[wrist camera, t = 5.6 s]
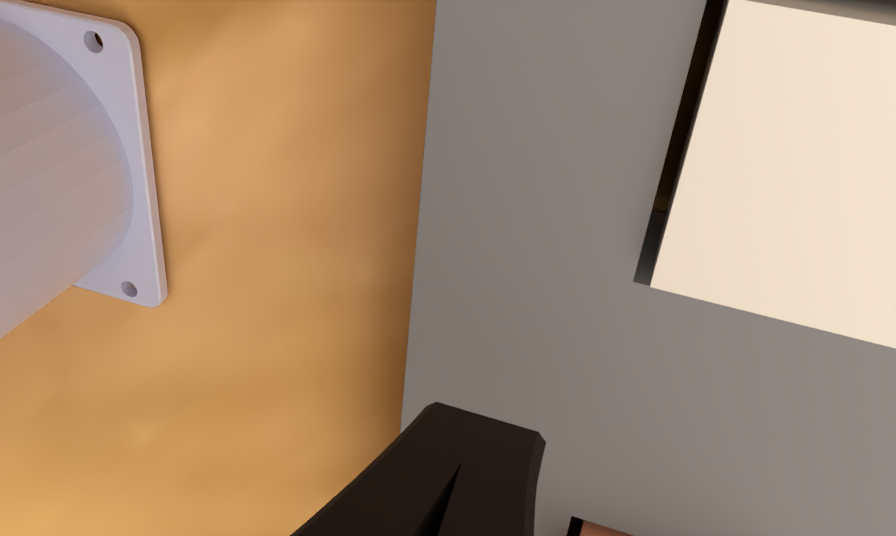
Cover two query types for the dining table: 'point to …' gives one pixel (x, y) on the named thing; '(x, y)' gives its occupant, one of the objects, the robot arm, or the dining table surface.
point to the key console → (618, 295)
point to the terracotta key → (599, 530)
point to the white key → (792, 169)
